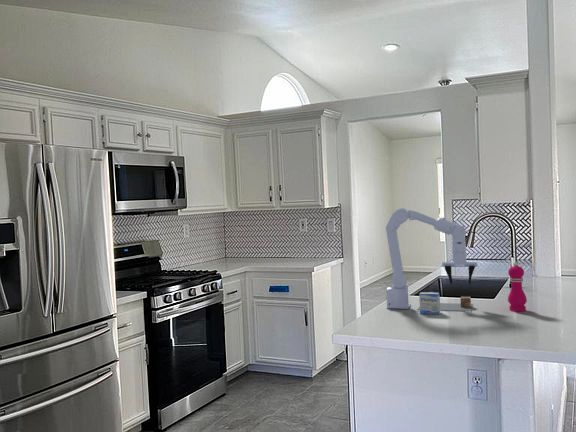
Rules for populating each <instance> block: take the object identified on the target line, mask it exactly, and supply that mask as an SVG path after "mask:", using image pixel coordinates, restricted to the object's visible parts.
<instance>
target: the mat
mask: <svg viewBox="0 0 576 432" xmlns="http://www.w3.org/2000/svg"><path fill="white" fill-rule="evenodd" d="M472 308H473V303H471V308H462V307H461V303H452V302H451V303H450V302H449V303H447V302H440V312H441V311H442V312H465V311H471V312H472V311H473V309H472ZM416 310H417V311H420V305H419V306H418V307H417V309H416Z"/></svg>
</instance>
